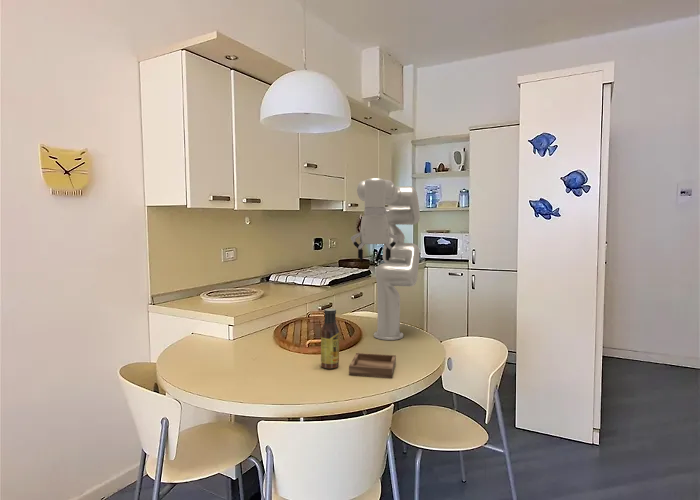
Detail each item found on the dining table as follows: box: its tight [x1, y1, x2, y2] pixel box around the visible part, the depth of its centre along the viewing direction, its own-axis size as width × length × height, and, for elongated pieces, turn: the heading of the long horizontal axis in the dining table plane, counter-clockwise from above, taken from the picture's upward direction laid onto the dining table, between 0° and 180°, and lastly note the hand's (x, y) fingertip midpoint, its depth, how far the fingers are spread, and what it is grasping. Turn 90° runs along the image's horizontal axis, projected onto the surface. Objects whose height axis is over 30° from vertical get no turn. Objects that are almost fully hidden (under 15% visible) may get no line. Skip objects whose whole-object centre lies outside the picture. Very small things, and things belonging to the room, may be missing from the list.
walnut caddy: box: [348, 352, 397, 379], centre depth 150 cm, size 14×14×3 cm
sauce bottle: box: [320, 308, 340, 370], centre depth 152 cm, size 7×6×20 cm
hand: (374, 260), depth 161 cm, fingers open, 9 cm apart
